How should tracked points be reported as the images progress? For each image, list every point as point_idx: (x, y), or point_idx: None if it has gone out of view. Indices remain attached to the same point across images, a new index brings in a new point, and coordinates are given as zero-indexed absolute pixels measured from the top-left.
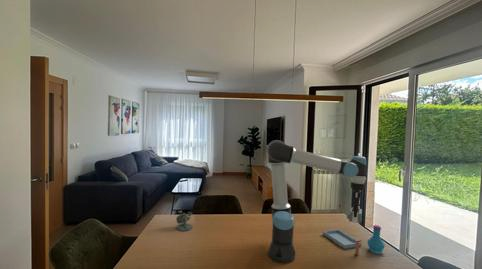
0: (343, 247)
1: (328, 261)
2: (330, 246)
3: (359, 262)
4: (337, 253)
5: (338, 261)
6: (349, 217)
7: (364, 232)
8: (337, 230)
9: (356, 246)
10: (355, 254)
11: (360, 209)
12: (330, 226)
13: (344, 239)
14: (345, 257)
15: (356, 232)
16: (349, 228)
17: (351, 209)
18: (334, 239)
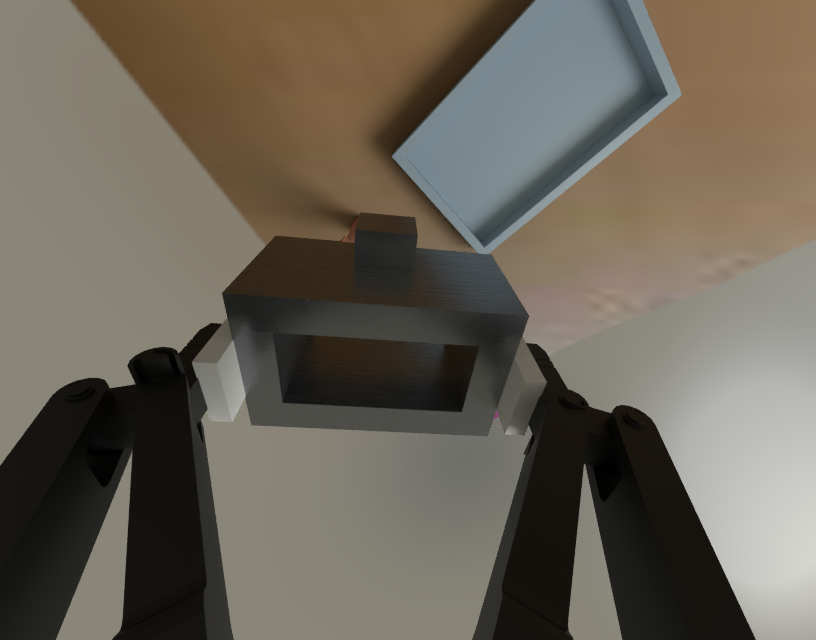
0: (399, 146)
1: (143, 40)
2: (382, 41)
3: (278, 235)
4: (303, 104)
5: (199, 115)
6: (260, 258)
7: (687, 277)
8: (662, 89)
9: (347, 236)
10: (355, 218)
11: (466, 421)
12: (801, 12)
13: (531, 152)
14: (283, 160)
15: (682, 232)
16: (752, 187)
17: (390, 321)
18: (471, 69)
